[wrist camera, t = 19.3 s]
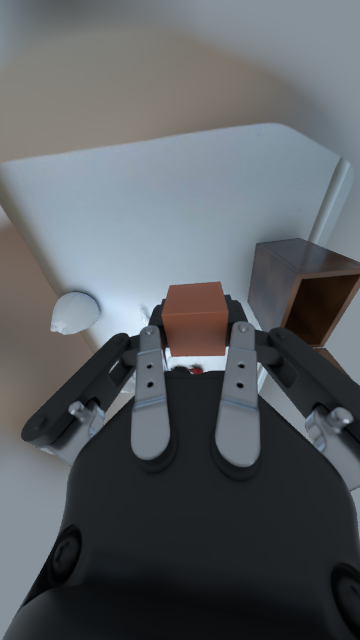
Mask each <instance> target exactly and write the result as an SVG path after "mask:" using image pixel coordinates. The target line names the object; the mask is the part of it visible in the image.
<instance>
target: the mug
mask: <svg viewBox="0 0 360 640" xmlns="http://www.w3.org/2000/svg"><path fill="white" fill-rule="evenodd" d="M116 365H117V364H116ZM116 365H115V366H116ZM115 366H114V367H115ZM114 367H113V368H114ZM111 371H112V370H111ZM111 371H110V372H111ZM135 383H136V370H135V372H134V373H133V374H132V376H131V377H130V379H129V380H128V381H127V383H126V384H125V386H124V387H123V389H122V390H121V391H124V392H135Z"/></svg>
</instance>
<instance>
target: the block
mask: <svg viewBox="0 0 360 640" xmlns="http://www.w3.org/2000/svg"><path fill="white" fill-rule="evenodd" d="M228 312H229V311H228V308H227V304H226V301H225V297H224V293H223V290H222V286H221V283H220V282H209V283H196V284H183V285H170V286H169V290H168V293H167V297H166V300H165V304H164V307H163V311H162V315H161V316H162V320H163V324H164V328H165V332H166V337H167V341H168V345H169V349H170V353H171V356H172V357H179V356H225V349H226V337H227V324H228Z"/></svg>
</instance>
